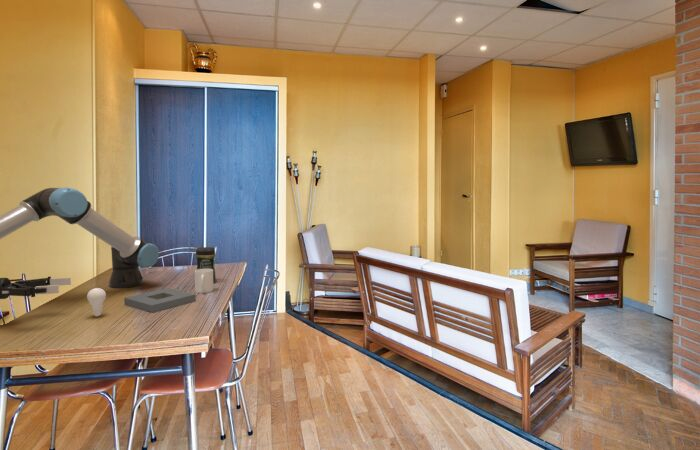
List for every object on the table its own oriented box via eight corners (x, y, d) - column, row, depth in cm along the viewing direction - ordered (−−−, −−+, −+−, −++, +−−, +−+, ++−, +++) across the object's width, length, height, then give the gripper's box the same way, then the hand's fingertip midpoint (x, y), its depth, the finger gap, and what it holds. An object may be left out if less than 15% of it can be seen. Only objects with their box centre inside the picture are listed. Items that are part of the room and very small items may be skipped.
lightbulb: (93, 314, 158) (92, 286, 157) (110, 313, 158) (108, 286, 157) (84, 319, 152) (83, 290, 151) (101, 318, 152) (100, 290, 151)
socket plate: (124, 304, 170) (124, 297, 170) (168, 294, 187) (167, 288, 187) (152, 312, 160) (151, 305, 159) (195, 301, 176) (195, 294, 176)
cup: (214, 288, 199) (213, 268, 198) (212, 294, 187) (211, 273, 186) (196, 289, 197) (195, 268, 196) (192, 295, 185) (192, 273, 184)
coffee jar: (195, 284, 206) (194, 248, 204) (197, 281, 214) (196, 246, 212) (215, 284, 208) (214, 248, 206) (216, 280, 216) (215, 246, 214)
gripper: (10, 291, 155) (75, 287, 162) (-25, 308, 132) (53, 303, 139) (9, 271, 154) (74, 268, 161) (-26, 286, 131) (52, 282, 138)
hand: (64, 284), depth 150 cm, fingers open, 13 cm apart
